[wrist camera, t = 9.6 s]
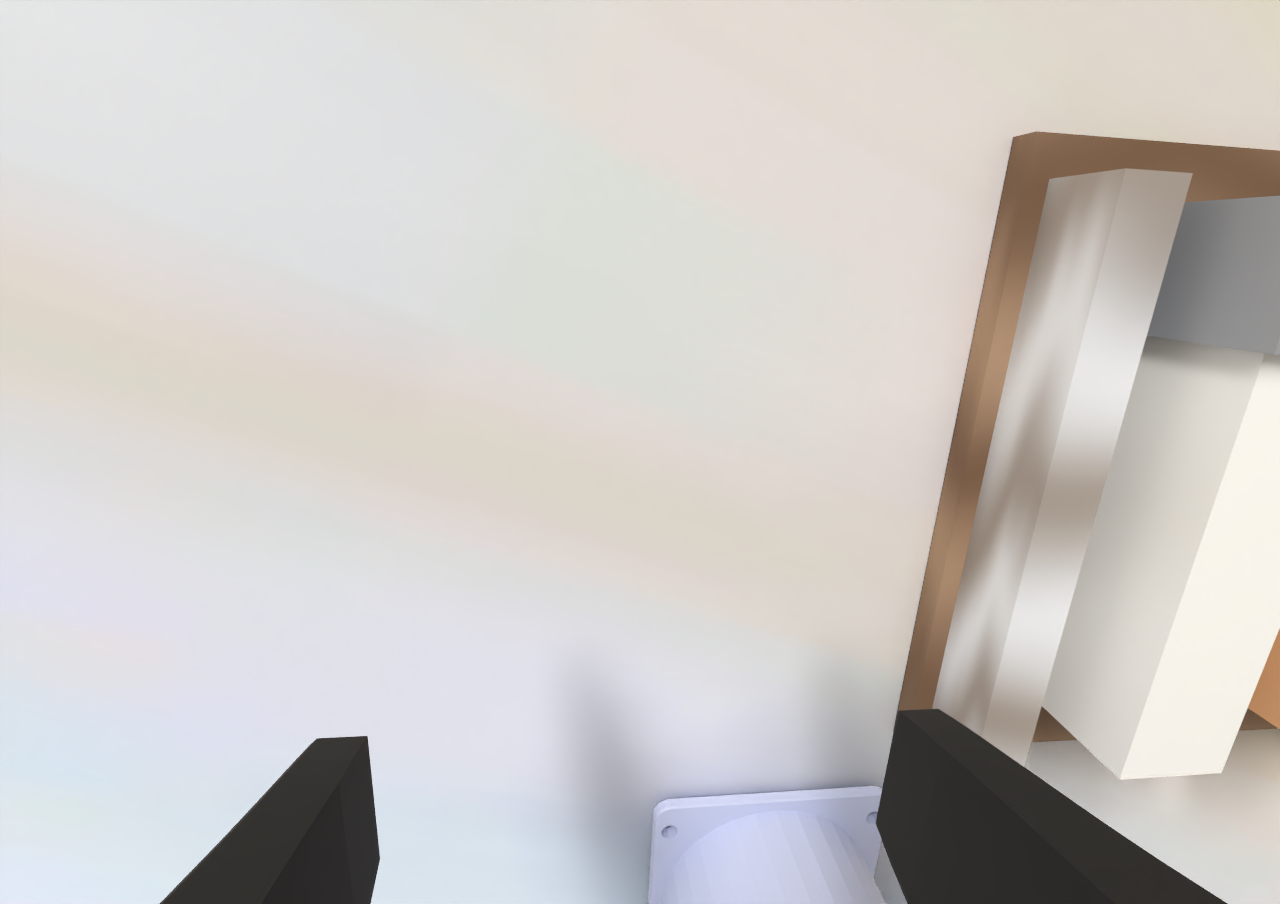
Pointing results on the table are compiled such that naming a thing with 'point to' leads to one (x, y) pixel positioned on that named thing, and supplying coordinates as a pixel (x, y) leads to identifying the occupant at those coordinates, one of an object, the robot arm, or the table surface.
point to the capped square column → (1269, 688)
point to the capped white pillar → (1186, 515)
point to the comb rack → (1049, 412)
